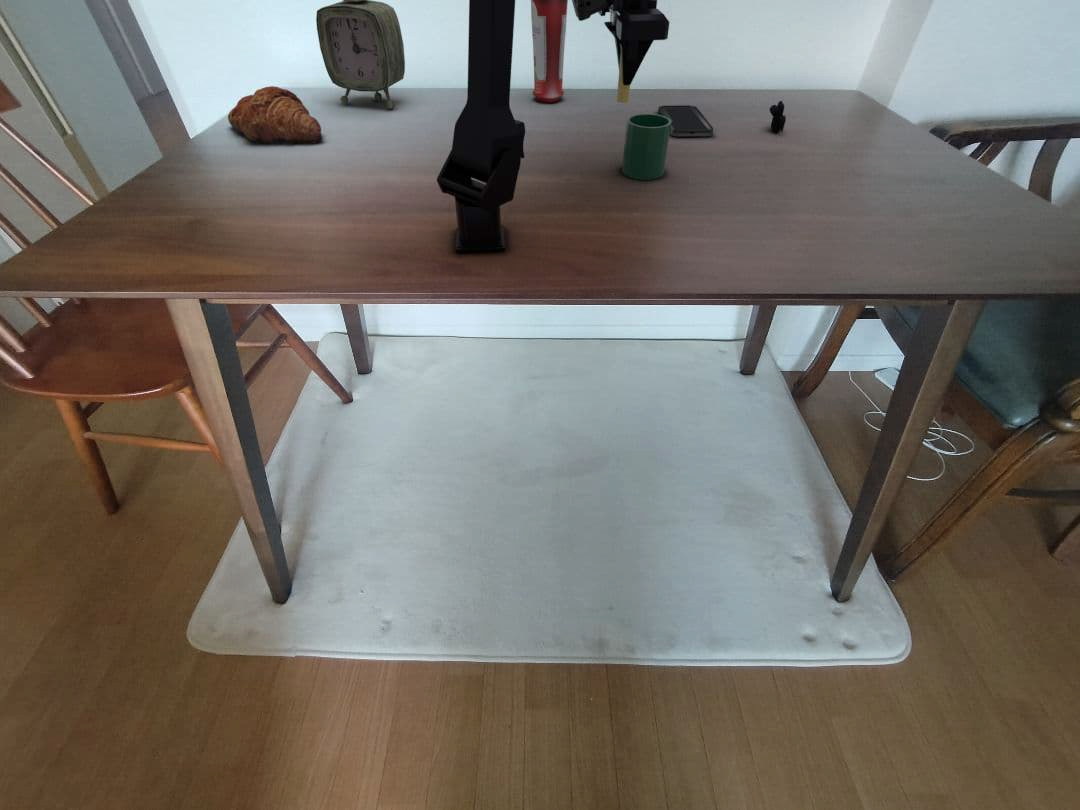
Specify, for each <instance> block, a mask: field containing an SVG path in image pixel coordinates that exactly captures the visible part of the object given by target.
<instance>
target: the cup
mask: <svg viewBox="0 0 1080 810" xmlns="http://www.w3.org/2000/svg"><path fill="white" fill-rule="evenodd" d="M625 127H626V128H625V134H624V135H625V136H624V146H623V155H622V156H623V158H622V165H621V166H622V169H621V171H622V174H623V175H624V176H626V177H628V178H631V179H634V180H638V181H652V180H657V179H659V178H662V176H663V175H664V173H665V168H666V161H667V155H668V150H669V149H668V148H669V142H670V141H669V140H670V135H671V134H670V129H671V120H670V119H669V118H667V117H665V116H661V115H659V114H658V113H637V114H633V115H630V116H628V118H627V119H626V125H625Z"/></svg>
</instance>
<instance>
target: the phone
mask: <svg viewBox="0 0 1080 810" xmlns="http://www.w3.org/2000/svg"><path fill="white" fill-rule="evenodd" d="M657 115H661V116H665V117H667V118H669V119H670V120H671V129H670V135H671V136H673V137H676V138H691V137H693V138H696V137H700V138H701V137H703V138H704V137H712V136H713V132H714V127H713V126H712V125H711V123H710V122H709V121H708V119H707V118H706V117H705V116H704V115H703V113H702V112H701V110H700V109H699V108H698V107H697V106H696V105H687V104H686V105H681V104H680V105H659V106H658V108H657Z"/></svg>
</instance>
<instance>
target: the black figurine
mask: <svg viewBox="0 0 1080 810" xmlns="http://www.w3.org/2000/svg"><path fill="white" fill-rule="evenodd" d="M784 112H785V104H784V103H783V100H779V101H778V102H777V104H772V105H771V106H770V107H769V113H770V114H771V117H772V119H771V123H770V128H771V130H772V132H773V133H779V132H781V133H783V132H784V129H785V126H786V125H785V124H786V122H787V117H786V115H784Z"/></svg>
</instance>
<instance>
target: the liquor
mask: <svg viewBox="0 0 1080 810" xmlns="http://www.w3.org/2000/svg"><path fill="white" fill-rule="evenodd" d="M568 1H569V0H530V14H531V15H530V16H531V17H530V18H531V35H532V51H533V52H532V53H533V55H532V56H533V84H534V85H533V87H534V88H533V90H532V93H531V94H532V95H533V96H534V97H535V99H537V101H538V102H540V103H547V104H549V103H556V102H558V101H560V100H561V98H562V97H563V96H564V94H565V91H564V89H563V82H564V81H563V80H564V63H565V62H564V60H565V43H566V33H567V22H568V21H567V18H568Z"/></svg>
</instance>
